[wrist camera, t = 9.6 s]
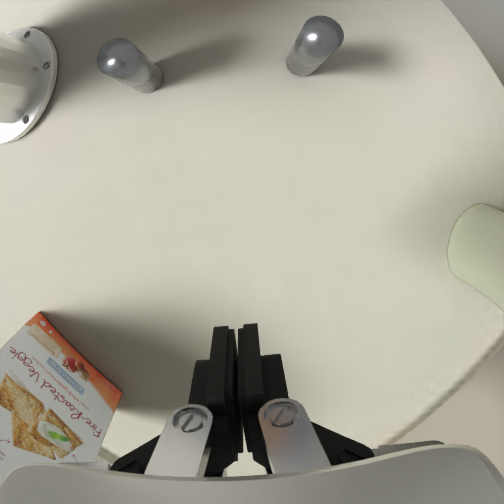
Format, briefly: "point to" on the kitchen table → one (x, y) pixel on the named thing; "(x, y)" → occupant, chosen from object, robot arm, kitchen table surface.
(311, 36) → the outer post
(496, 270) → the can
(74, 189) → the kitchen table surface
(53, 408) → the cracker box
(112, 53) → the inner post
